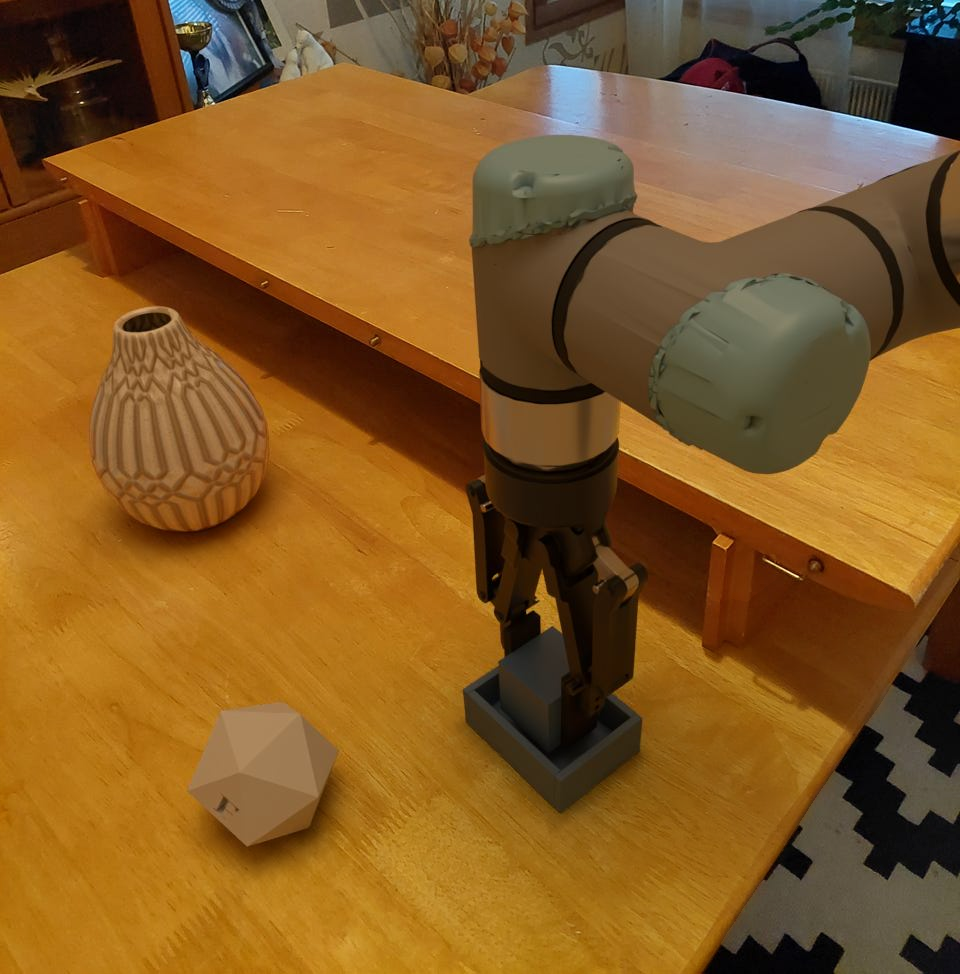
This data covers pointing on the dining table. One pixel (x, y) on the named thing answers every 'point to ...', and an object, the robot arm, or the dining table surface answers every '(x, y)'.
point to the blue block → (536, 687)
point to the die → (263, 771)
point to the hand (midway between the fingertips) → (550, 709)
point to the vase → (175, 426)
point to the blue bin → (562, 768)
